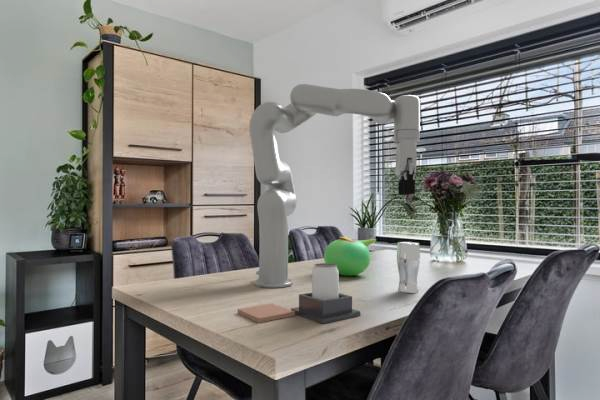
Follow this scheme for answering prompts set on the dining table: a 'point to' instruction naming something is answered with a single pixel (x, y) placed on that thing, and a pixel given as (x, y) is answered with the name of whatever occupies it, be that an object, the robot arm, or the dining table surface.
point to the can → (325, 281)
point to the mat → (265, 312)
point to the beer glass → (408, 266)
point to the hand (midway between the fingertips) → (406, 194)
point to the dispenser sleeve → (325, 308)
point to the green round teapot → (349, 255)
